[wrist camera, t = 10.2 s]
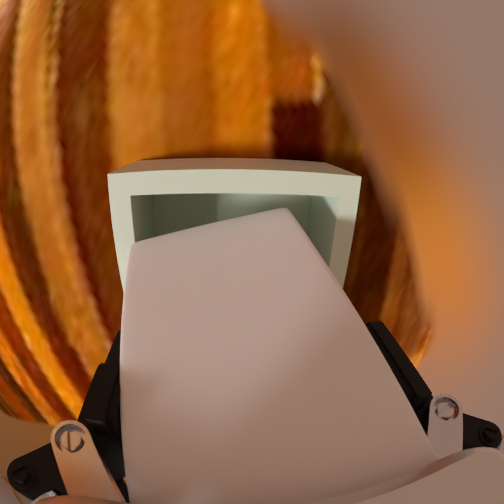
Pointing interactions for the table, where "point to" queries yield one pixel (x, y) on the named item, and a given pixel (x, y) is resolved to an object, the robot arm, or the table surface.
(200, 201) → the crate
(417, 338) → the table surface
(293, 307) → the milk carton
